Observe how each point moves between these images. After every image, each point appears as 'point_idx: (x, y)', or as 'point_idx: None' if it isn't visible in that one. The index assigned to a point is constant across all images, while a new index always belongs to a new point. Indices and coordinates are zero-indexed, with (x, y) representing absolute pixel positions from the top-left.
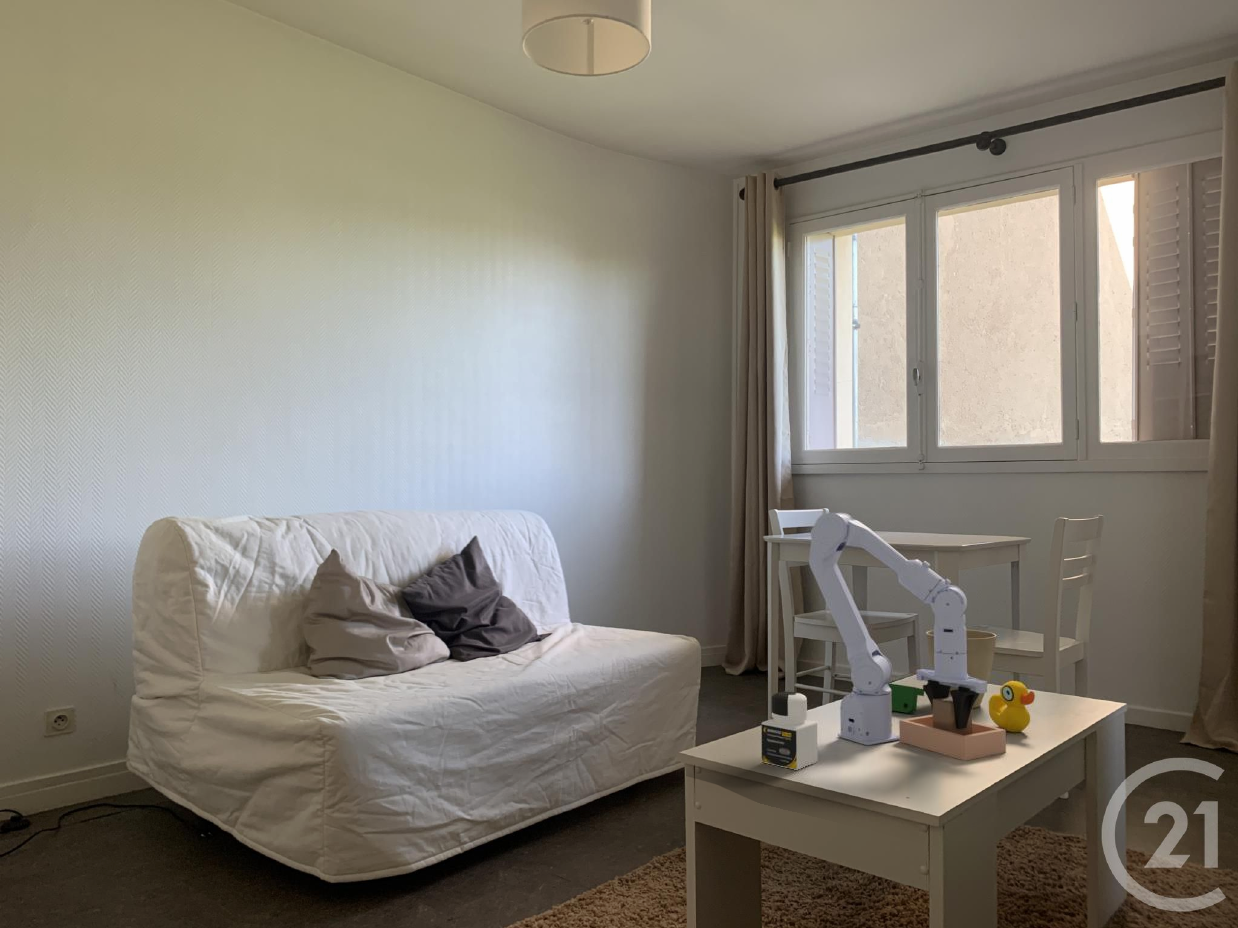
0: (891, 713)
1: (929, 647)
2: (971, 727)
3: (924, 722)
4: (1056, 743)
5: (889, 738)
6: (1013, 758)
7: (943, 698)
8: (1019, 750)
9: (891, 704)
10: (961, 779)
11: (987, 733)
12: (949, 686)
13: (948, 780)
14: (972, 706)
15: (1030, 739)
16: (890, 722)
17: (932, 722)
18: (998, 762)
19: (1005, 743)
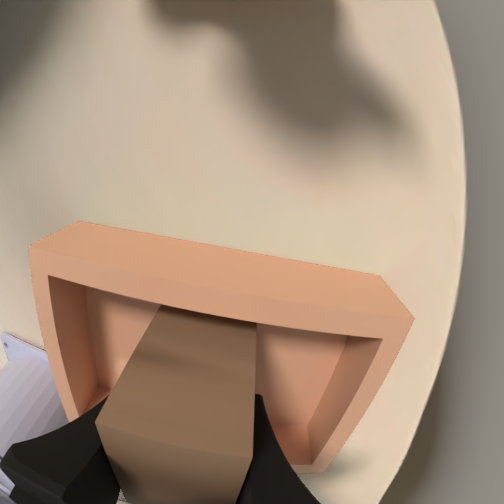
0: (43, 426)
1: None
2: (254, 344)
3: (71, 347)
4: (439, 24)
5: None
6: (415, 323)
7: (130, 483)
8: (406, 213)
9: (27, 439)
10: (352, 482)
11: (366, 409)
12: (73, 489)
13: (336, 492)
14: (292, 469)
15: (358, 15)
16: (61, 419)
17: (67, 306)
18: (389, 383)
19: (391, 291)
